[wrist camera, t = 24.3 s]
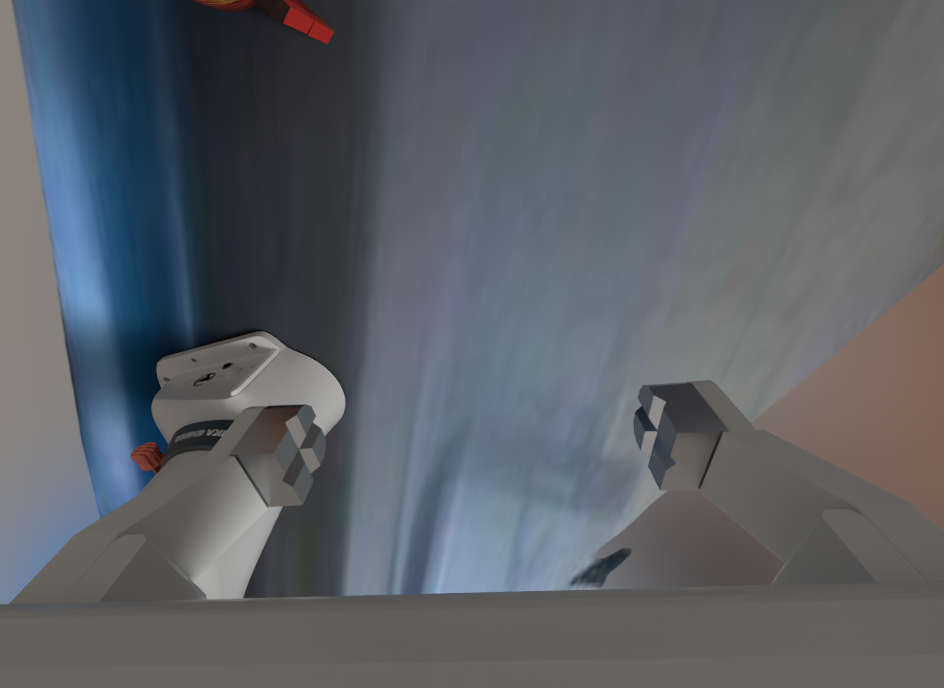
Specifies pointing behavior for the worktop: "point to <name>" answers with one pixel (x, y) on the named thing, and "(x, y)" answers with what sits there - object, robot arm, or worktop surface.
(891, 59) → the worktop surface
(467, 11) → the worktop surface
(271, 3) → the mug
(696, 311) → the worktop surface
